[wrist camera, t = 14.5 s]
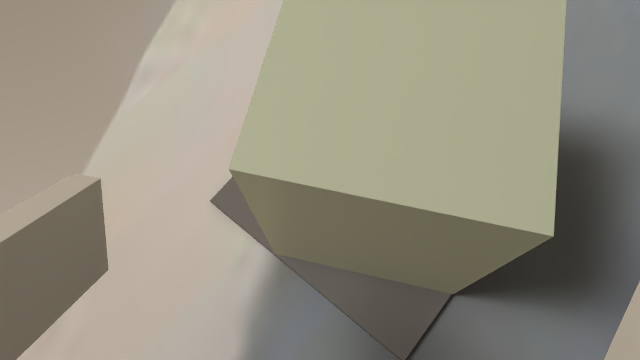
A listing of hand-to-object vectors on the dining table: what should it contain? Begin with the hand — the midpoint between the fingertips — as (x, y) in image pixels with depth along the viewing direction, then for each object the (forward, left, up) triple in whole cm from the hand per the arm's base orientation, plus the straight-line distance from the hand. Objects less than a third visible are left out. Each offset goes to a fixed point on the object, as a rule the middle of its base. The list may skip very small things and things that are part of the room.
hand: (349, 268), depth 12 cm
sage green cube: (-4, -7, -14) cm, 16 cm away
